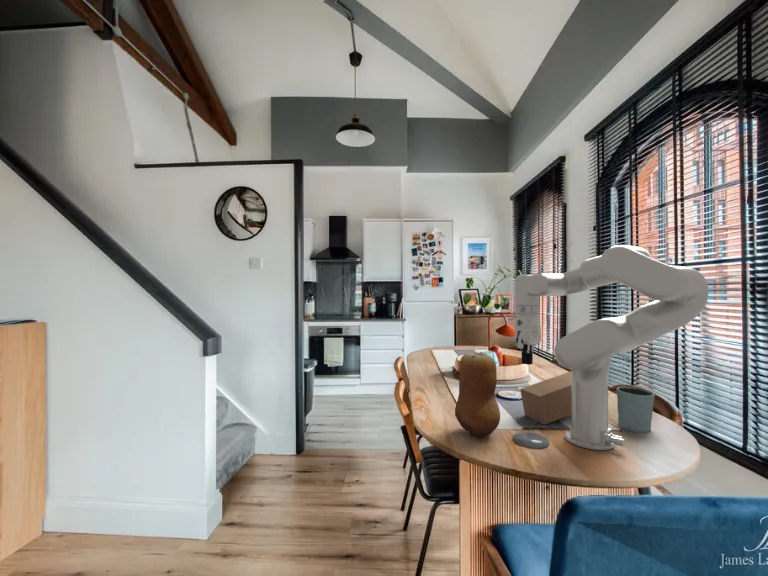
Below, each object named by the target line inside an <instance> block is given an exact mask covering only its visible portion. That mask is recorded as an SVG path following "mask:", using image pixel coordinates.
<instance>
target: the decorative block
mask: <svg viewBox="0 0 768 576" xmlns="http://www.w3.org/2000/svg"><path fill="white" fill-rule="evenodd" d="M572 371H573V370H572ZM572 371H571V370H570V371H568V372H565V373H562V374H559V375H556V376H554V377H551V378H548V379H545V380H542V381H539V382H536V383H533V384H531V385H527V386H524V387H522V388H520V389H519V390H520V395H521V401H522V407H523V412H524V416H526V417H528V418H529V419H532V420H534V421H536V422H538V423H540V424H542V425H548V424H550V423H553V422H556V421H558V420H560V419H563V418H566V417H568V416H571V376H572Z"/></svg>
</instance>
